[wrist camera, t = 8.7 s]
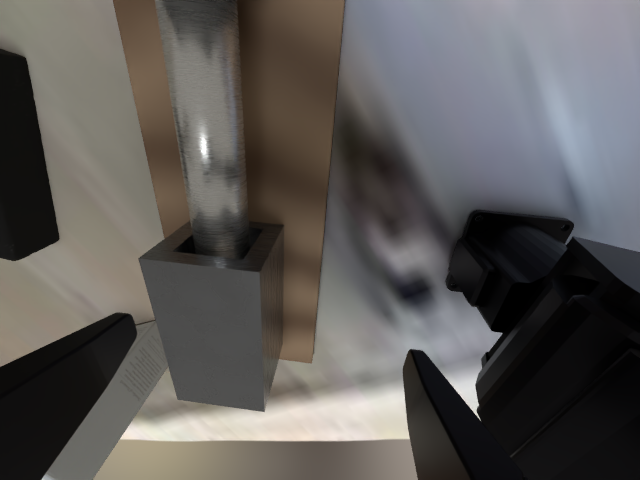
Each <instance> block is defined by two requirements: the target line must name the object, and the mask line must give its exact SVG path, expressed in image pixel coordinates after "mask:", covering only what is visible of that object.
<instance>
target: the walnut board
mask: <svg viewBox="0 0 640 480" xmlns="http://www.w3.org/2000/svg"><path fill="white" fill-rule="evenodd" d="M113 3H114V8H115V12H116V17H117V21H118V26H119V31H120V35H121V40H122V44H123V49H124V54H125V58H126V63H127V67H128V72H129V77H130V81H131V86H132V90H133V95H134V100H135V104H136V109H137V113H138V118H139V123H140V127H141V132H142V137H143V141H144V146H145V150H146V155H147V160H148V164H149V169H150V173H151V178H152V183H153V187H154V192H155V196H156V201H157V206H158V210H159V215H160V219H161V224H162V229H163V233H164V238H167V237H168V236H169V235H171V234H172V233H173V232H175V231H176V230H177V229H179V228H180V227H181V226H183V225H184V224H185V223H187V222H188V221H189V220H190V215H189V209H188V203H187V197H186V191H185V184H184V178H183V172H182V166H181V160H180V153H179V147H178V141H177V135H176V129H175V122H174V116H173V110H172V104H171V98H170V92H169V85H168V79H167V73H166V67H165V61H164V54H163V48H162V42H161V36H160V30H159V23H158V17H157V11H156V5H155V0H113ZM344 8H345V0H237V10H238V29H239V48H240V67H241V86H242V105H243V124H244V143H245V162H246V181H247V200H248V219H249V221H254V222H263V223H272V224H282V225H284V287H283V345H282V349H281V353H280V356H279V359H282V360H290V361H297V362H305V363H312V358H313V349H314V338H315V327H316V316H317V305H318V294H319V283H320V272H321V261H322V250H323V239H324V228H325V217H326V206H327V195H328V184H329V173H330V162H331V151H332V140H333V129H334V118H335V107H336V96H337V85H338V74H339V63H340V52H341V41H342V30H343V19H344Z"/></svg>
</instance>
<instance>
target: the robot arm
mask: <svg viewBox="0 0 640 480" xmlns="http://www.w3.org/2000/svg"><path fill="white" fill-rule="evenodd" d="M478 216H481V218H480V219H479V220H475V219H476V217H478ZM563 225H565V226H564V228H562V229H561V227H562V226H563ZM573 228H574V224H573V223H572V222H571V221H569V220H567V219H563V218H554V217H544V216H534V215H524V214H514V213H504V212H494V211H484V210H476V211H473V212H472V213H471V214H470V216H469V219H468V222H467V224H466V227H465V230H464V233H463V236H462V238H460V239H459V240H458V242H457V245H456V248H455V251H454V254H453V257H452V259H451V262H450V265H449V268H448V269H449V271H450V272H449V275H448V277H447V280H446V286H447V288H448V289H449V290H450V291H456V292H463V294H464V296H465V297H466V299H467V301H468V302H469V304H470V305H471V306H472V307H477V308H478V310H479V312H480V313H481V315H482V316H483V318H484V320H485V321H486V323H487V324H488V326H489V328H490V329H491V330H492V331H494V332H501V333H503V334H502V335H501V337H500V338H499V339H498V341H497V342H496V343H495V345H494V346H493V347H492V349H491V350H490V351H489V352H486V353H485V354H484V356H483V357H482V358H481V361H482V370H481V371H480V373H479V374H478V378H477V381H476V385H475V386H476V392H477V398H478V403H479V406H478V408H477V413H478V415H479V417H480V419H481V421H482V422H481V421H480V420H479V418H478V417H477V416H476V415H475V414H474V412H473V411H472V410H471V409H470V407H469V406H468V405H467V404H466V403H465V401H464V400H463V399H462V398H461V396H460V395H459V394H458V393H457V392H456V390H455V389H454V388H453V387H452V385H451V384H450V383H449V382H448V380H447V379H446V378H445V377H444V376H443V374H442V373H441V372H440V371H439V369H438V368H437V367H436V366H435V365H434V363H433V362H432V361H431V360H430V358H429V357H428V356H427V355H426V354H425V352H423V351H421V350H414V349H410V350H409V351H408V354H407V357H406V360H405V363H404V366H403V381H404V392H405V403H406V413H407V423H408V430H409V436H410V441H411V446H412V451H413V456H414V461H415V466H416V472H417V477H418V480H640V252H636V251H631V250H627V249H623V248H619V247H615V246H611V245H607V244H603V243H599V242H595V241H591V240H586V239H582V238H578V237H572V239H571V240H570V241H569V243H568V244H567V245H565V242H566V241H567V239H568V237H569V235H570V234H571V232H572V230H573ZM453 283H456V284H455V285H451V284H453ZM136 337H137V329H136V326H135V323H134V320H133V317H132V315H131V314H128V313H120V312H119V313H114V314H112V315H110V316H108V317H106V318H104V319H101V320H99V321H97V322H95V323H93V324H91V325H89V326H87V327H84V328H82V329H80V330H78V331H76V332H74V333H72V334H70V335H67V336H65V337H63V338H61V339H59V340H57V341H55V342H53V343H50V344H48V345H46V346H44V347H42V348H40V349H38V350H36V351H33V352H31V353H29V354H27V355H25V356H23V357H21V358H19V359H16V360H14V361H12V362H10V363H8V364H6V365H4V366H1V367H0V480H41V479H42V478H43V477H44V475H45V474H46V472H47V471H48V470H49V468H50V467H51V465H52V464H53V463H54V461H55V460H56V458H57V457H58V456H59V454H60V453H61V451H62V450H63V449H64V447H65V446H66V444H67V443H68V442H69V440H70V439H71V437H72V436H73V435H74V433H75V432H76V430H77V429H78V428H79V426H80V425H81V423H82V422H83V420H84V419H85V418H86V416H87V415H88V413H89V412H90V411H91V409H92V408H93V406H94V405H95V404H96V402H97V401H98V399H99V398H100V397H101V395H102V394H103V392H104V391H105V389H106V388H107V387H108V385H109V383H110V382H111V380H112V379H113V377H114V375H115V374H116V372H117V370H118V369H119V367H120V365H121V363H122V362H123V360H124V358H125V357H126V355H127V353H128V352H129V350H130V348H131V346H132V345H133V343H134V341H135V340H136Z"/></svg>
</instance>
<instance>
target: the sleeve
mask: <svg viewBox="0 0 640 480" xmlns="http://www.w3.org/2000/svg"><path fill="white" fill-rule="evenodd" d="M249 238H250V250H249V252H248V253H247V255H246V256H245V258H244V259H243V260H242V259H233V258H224V257H216V256H207V255H198V254H196V252H195V246H194V240H193V234H192V228H191V221H190V220H189V221H188V222H187V223H185V224H184V225H183V226H181V227H180V228H179V229H177V230H176V231H175V232H173V233H172V234H171V235H169V236H168V237H167V238H165V239H164V240H162V241H161V242H160V243H158V244H157V245H156V246H154V247H153V248H152V249H150V250H149V251H148V252H146V253H145V254H144V255H142V256H141V257H140V258H138V259H139V262H140V266H141V270H142V273H143V277H144V280H145V284H146V287H147V291H148V295H149V298H150V302H151V305H152V309H153V313H154V316H155V320H156V323H157V327H158V331H159V334H160V338H161V341H162V345H163V349H164V352H165V356H166V359H167V363H168V366H169V370H170V374H171V377H172V381H173V384H174V388H175V392H176V395H177V399H178V400H184V401H191V402H198V403H206V404H213V405H220V406H227V407H234V408H241V409H248V410H255V411H262V412H265V408H266V404H267V401H268V397H269V393H270V390H271V386H272V382H273V379H274V375H275V371H276V367H277V364H278V360H279V356H280V353H281V349H282V345H283V287H284V225H282V224H272V223H263V222H254V221H249Z"/></svg>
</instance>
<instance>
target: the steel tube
mask: <svg viewBox="0 0 640 480" xmlns="http://www.w3.org/2000/svg"><path fill="white" fill-rule="evenodd" d="M155 5H156V11H157V17H158V23H159V30H160V36H161V42H162V48H163V54H164V61H165V67H166V73H167V79H168V85H169V92H170V98H171V104H172V110H173V116H174V122H175V129H176V135H177V141H178V147H179V153H180V160H181V166H182V172H183V178H184V184H185V191H186V197H187V203H188V209H189V215H190V221H191V228H192V234H193V240H194V246H195V252H196V254H198V255H207V256H216V257H224V258H233V259H242V260H243V259H244V258H245V256H246V255H247V253H248V252H249V250H250V238H249V219H248V200H247V181H246V162H245V143H244V124H243V105H242V86H241V67H240V48H239V29H238V10H237V0H155Z"/></svg>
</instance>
